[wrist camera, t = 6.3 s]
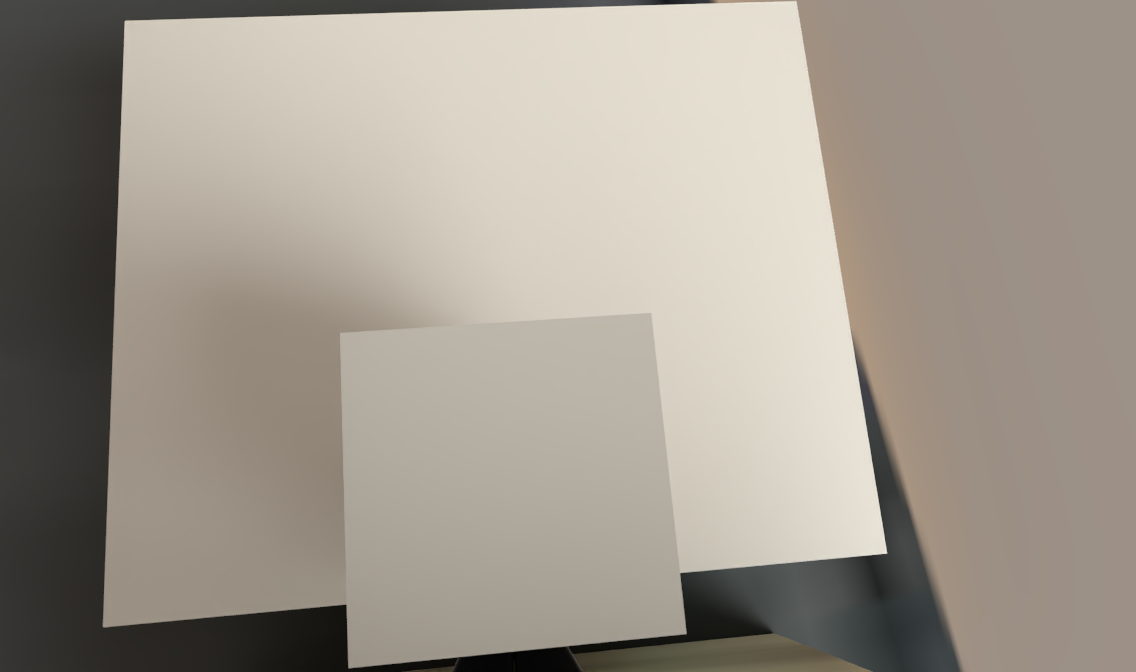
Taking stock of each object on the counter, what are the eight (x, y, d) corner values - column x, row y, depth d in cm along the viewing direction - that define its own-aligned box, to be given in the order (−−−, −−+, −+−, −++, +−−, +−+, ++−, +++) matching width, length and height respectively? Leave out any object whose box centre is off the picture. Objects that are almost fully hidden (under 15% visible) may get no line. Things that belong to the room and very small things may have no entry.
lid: (866, 552, 14) (1236, 577, 7) (127, 621, 13) (-336, 737, 6) (782, 25, 16) (1000, -365, 9) (144, 46, 15) (-176, -381, 8)
